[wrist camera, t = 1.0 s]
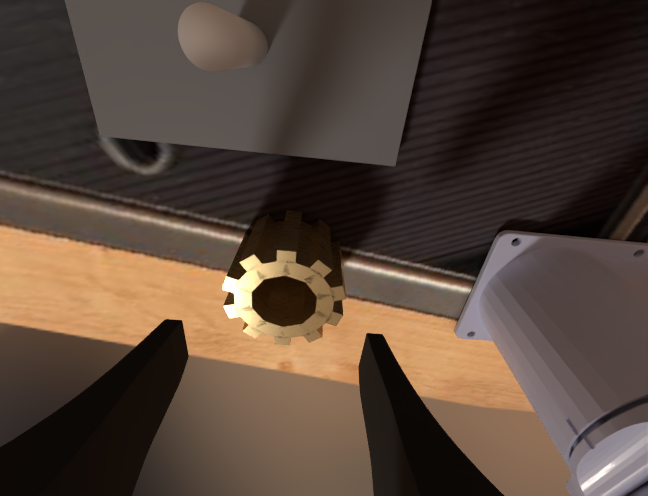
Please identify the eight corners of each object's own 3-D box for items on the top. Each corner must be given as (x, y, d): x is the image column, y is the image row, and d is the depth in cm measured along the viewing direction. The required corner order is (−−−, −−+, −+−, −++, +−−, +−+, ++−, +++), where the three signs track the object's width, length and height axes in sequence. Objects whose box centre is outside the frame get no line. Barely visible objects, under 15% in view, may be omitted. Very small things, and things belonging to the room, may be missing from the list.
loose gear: (347, 215, 17) (353, 256, 13) (334, 297, 20) (336, 348, 16) (240, 205, 16) (218, 245, 13) (243, 290, 19) (226, 340, 16)
